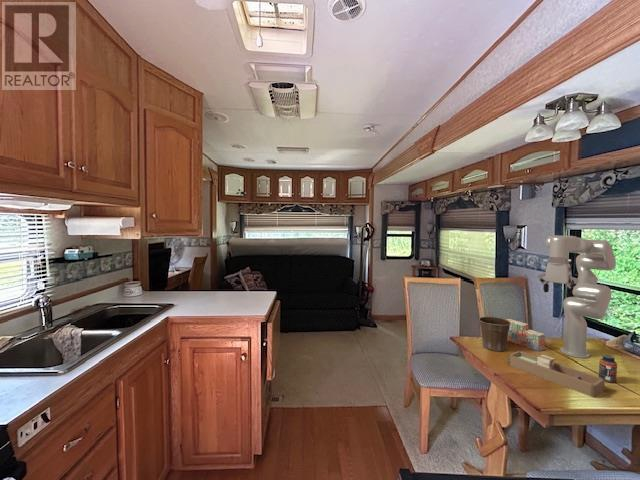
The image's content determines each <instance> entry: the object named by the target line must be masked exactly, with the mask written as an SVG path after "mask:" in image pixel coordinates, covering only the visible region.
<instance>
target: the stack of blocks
mask: <svg viewBox="0 0 640 480" xmlns="http://www.w3.org/2000/svg"><path fill="white" fill-rule="evenodd" d="M505 320H508V321H510V322H511V324H510V327H509V330H508V338H507V342H511V343H512V344H513V343H514V344H515V345H520V346H522V347H525V348H527V349H529V350H532V351H536V352H541V351H544V350H545V341H546V334H545V333H542V332H539V331H535V330H533V329H530V328H529V327H530V324H528V323H525V322H523V321H518V320H514V319H512V318H506V319H505Z"/></svg>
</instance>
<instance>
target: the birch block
mask: <svg viewBox="0 0 640 480" xmlns="http://www.w3.org/2000/svg"><path fill="white" fill-rule="evenodd" d="M554 362H555V358H554V357H551V356H547V355H544V354H541V355H539V356H537V364H538V365H541V366H543V367H546V368H549V369H552V370H553V369H554Z"/></svg>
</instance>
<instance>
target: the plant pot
mask: <svg viewBox="0 0 640 480" xmlns="http://www.w3.org/2000/svg"><path fill="white" fill-rule="evenodd" d="M478 321H479V326H480V330H481V342H482V347H483V348H485V349H486V350H492V351H493V352H505V351H506V350H507V346H508V341H507V338H508V330H509V327H510V324H511V322H510V321H508V320H506V319H505V318H501V317H498V316H497V317H494V316H481V317H479V318H478Z"/></svg>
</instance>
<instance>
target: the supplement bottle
mask: <svg viewBox="0 0 640 480" xmlns="http://www.w3.org/2000/svg"><path fill="white" fill-rule="evenodd" d="M615 358H616V357H614V356H612V355H610V354H602V357H601V358H600V359H599V365H598V366H599V367H598V377H600V378H603V379H605V382H606V383H611V384H613V383H616V382H617V372H618V363H617V362H616V361H615Z"/></svg>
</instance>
